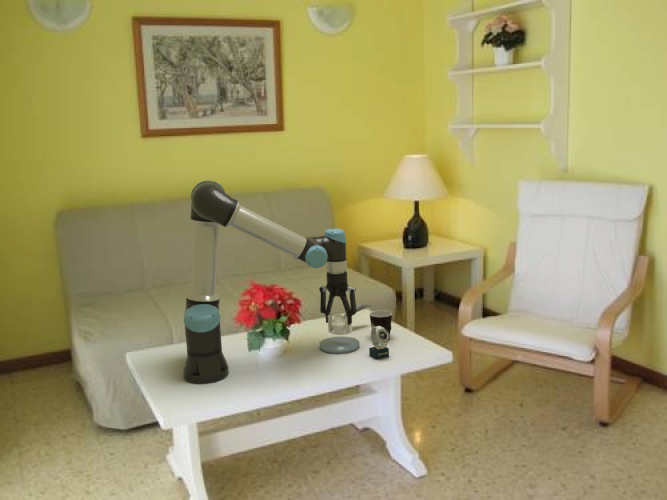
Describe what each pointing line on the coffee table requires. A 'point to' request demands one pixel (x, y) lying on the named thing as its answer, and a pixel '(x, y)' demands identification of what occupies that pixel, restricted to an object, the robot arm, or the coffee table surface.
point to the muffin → (338, 324)
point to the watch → (379, 337)
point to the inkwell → (358, 308)
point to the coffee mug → (381, 319)
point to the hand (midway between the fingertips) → (339, 331)
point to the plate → (339, 345)
